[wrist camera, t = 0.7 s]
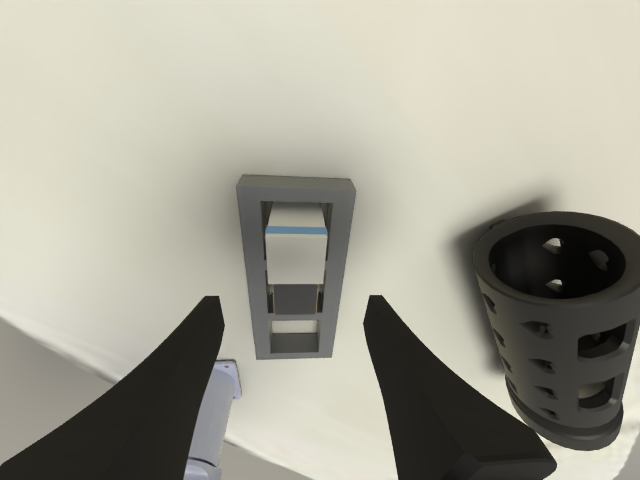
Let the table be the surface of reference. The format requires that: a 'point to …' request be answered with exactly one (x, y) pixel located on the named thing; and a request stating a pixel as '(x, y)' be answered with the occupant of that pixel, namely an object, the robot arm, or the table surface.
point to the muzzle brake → (563, 320)
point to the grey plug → (296, 243)
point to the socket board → (294, 297)
